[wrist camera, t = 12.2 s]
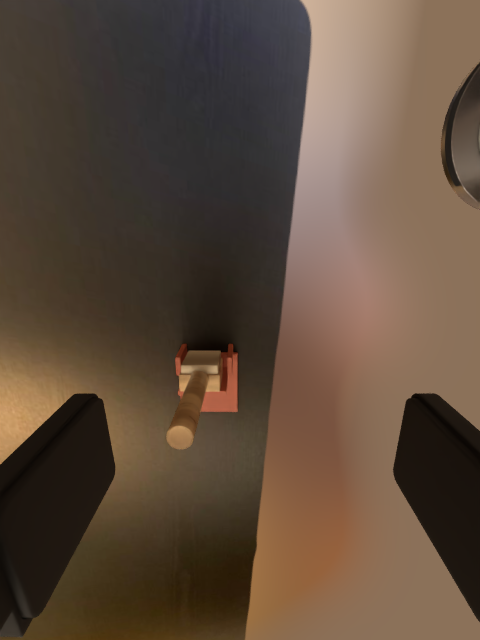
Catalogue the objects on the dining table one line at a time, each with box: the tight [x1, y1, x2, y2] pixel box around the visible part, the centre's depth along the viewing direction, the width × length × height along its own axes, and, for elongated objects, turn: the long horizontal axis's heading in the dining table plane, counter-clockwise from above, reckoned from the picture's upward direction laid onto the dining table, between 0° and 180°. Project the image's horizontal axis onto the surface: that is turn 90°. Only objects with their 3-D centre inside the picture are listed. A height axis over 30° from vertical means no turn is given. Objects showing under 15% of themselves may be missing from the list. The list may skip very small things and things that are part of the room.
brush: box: [166, 351, 223, 449], centre depth 28 cm, size 15×4×3 cm
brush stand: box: [175, 344, 238, 412], centre depth 37 cm, size 10×8×7 cm
